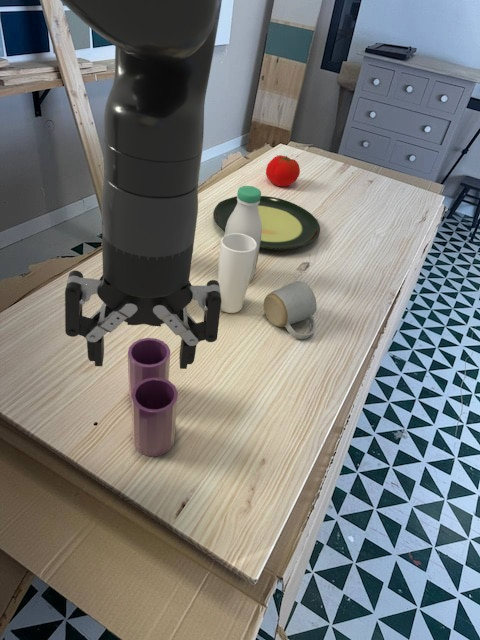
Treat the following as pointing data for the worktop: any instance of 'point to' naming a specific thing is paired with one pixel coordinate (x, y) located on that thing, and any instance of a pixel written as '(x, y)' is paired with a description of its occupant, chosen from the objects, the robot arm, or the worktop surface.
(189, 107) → the robot arm
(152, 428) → the front cup
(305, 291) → the ceramic mug
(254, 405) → the worktop surface
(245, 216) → the milk bottle
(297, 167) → the tomato
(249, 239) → the drinking glass
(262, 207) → the plate
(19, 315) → the worktop surface
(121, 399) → the worktop surface
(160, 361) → the pair cup
